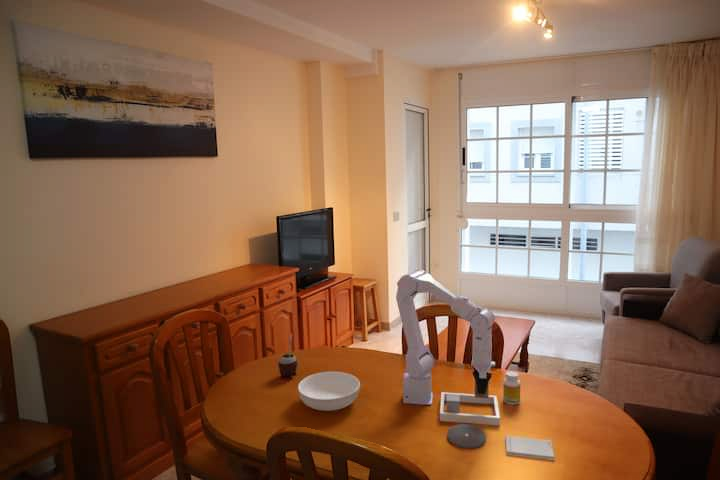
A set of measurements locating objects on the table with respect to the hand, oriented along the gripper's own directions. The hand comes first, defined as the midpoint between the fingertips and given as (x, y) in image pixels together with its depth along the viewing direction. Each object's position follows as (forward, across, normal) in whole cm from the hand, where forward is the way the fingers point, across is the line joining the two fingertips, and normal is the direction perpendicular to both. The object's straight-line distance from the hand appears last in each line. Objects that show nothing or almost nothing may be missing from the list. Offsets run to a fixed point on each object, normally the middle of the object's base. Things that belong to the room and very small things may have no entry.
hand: (481, 389), depth 153 cm
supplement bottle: (+9, +11, -10) cm, 18 cm away
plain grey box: (+9, 0, +9) cm, 12 cm away
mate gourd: (+9, +20, +70) cm, 74 cm away
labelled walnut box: (+2, 0, 0) cm, 2 cm away
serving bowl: (+9, +2, +50) cm, 50 cm away
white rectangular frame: (+9, +2, +4) cm, 10 cm away
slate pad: (+9, -13, +5) cm, 16 cm away
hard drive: (+10, -16, -12) cm, 22 cm away
